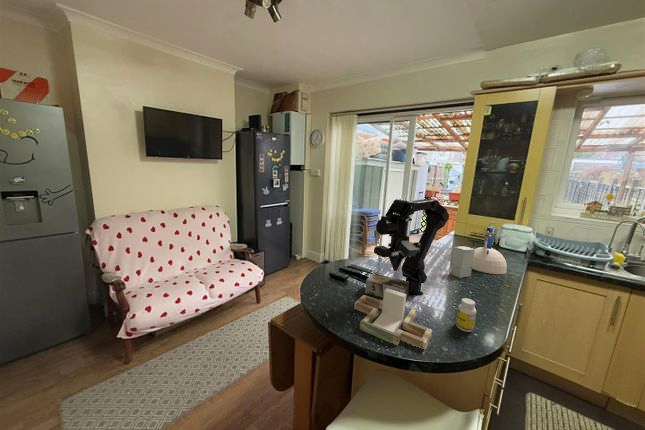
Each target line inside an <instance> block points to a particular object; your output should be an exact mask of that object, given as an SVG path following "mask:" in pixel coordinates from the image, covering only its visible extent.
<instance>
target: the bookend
mask: <svg viewBox="0 0 645 430" xmlns="http://www.w3.org/2000/svg"><path fill="white" fill-rule="evenodd" d="M382 300H383V309H381V310H382V311H381V313H380V315H378V316H377V317H376V318H375V319H374V321H373V322H372V324H374V325H376V326H379V327H381V328H384V329H386V330H388V331H391V332H393V333H396V331H397V330H398V329H399V328H400V327H401V325H403V321H404V320H405V310H406V309H405V308H406V300H407V299H406V294H404V293H401V292H398V291H394V290H391V289H388V288H386V289H385V290H384V298H382Z"/></svg>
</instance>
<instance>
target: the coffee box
mask: <svg viewBox="0 0 645 430" xmlns="http://www.w3.org/2000/svg"><path fill="white" fill-rule="evenodd" d="M386 288H388V289H391V290H394V291H398V292H401V293H404V294H406V300H407V298H408V297H409V294H408V292H409V281H406V280H405V279H399V278H396V277H391V276H386V275H382V274H378V273H373V272H371V275H369V277H367V278H366V280H365V288H364V290H365V291H364V293H365V294H367V295H370V296H375V297H377V298H381V299H383V298H384V290H385V289H386Z"/></svg>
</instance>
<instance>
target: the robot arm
mask: <svg viewBox="0 0 645 430" xmlns="http://www.w3.org/2000/svg"><path fill="white" fill-rule="evenodd" d="M420 211H424V214H425V225H426V226H425V228H424V230H423V232H422V234H421V235H420V236H421V237H420V239H419V240H418V241H415V242H413V241H410V236H408V230H409V229H408V228H409V227H408V226H409V222H412V221H413V219H412V218H411V216H413V215H414V214H415V212H420ZM449 219H450V215H449V213H448V210H447V209H446V207H444V206H443V205H442V204H441V203H440V202H439V200H438V199H435V198H424V199H423V198H422V199H417V200H410V201H409V200H403V199H397V198H396V199H394V200H393V202H392V203H391V205H390V206H389V208H388V209H387V211H386V213H385V216H384V215H382V216H380V219H378V221H377V222H376V224H375V230H376V232H377V233H378V235H381V236H386V235H388V237H390V242H389V243H388V244H387V246H388V247H387V246H386V245H376V246H375V247H374V249H373V253H374V254H375V255H377V256H379V257H381V258H388V259H389V261H390V264H391V267H392V270H393V271H394V272H397V271H398V269H399V267H400V266H401V273H402V277H404V278H405V281H409V292H408V296H411V297H417V296H422V295H424V292H423V291H422V285H423V284H425V283H426V282H427V279H428V276H427V274H426V272H425V268H426V266H425V265H426V263H425V259H426V257H427V254H428V253H429V249H430V248H431V246H432V244H433V242H434V239H435V237H436V235H437V233H438V231H439V230H441V229H442V228H443V227H445V225H446V223H448V221H449ZM403 260H404V261H403ZM402 261H403V262H402ZM401 263H402V265H401Z"/></svg>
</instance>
